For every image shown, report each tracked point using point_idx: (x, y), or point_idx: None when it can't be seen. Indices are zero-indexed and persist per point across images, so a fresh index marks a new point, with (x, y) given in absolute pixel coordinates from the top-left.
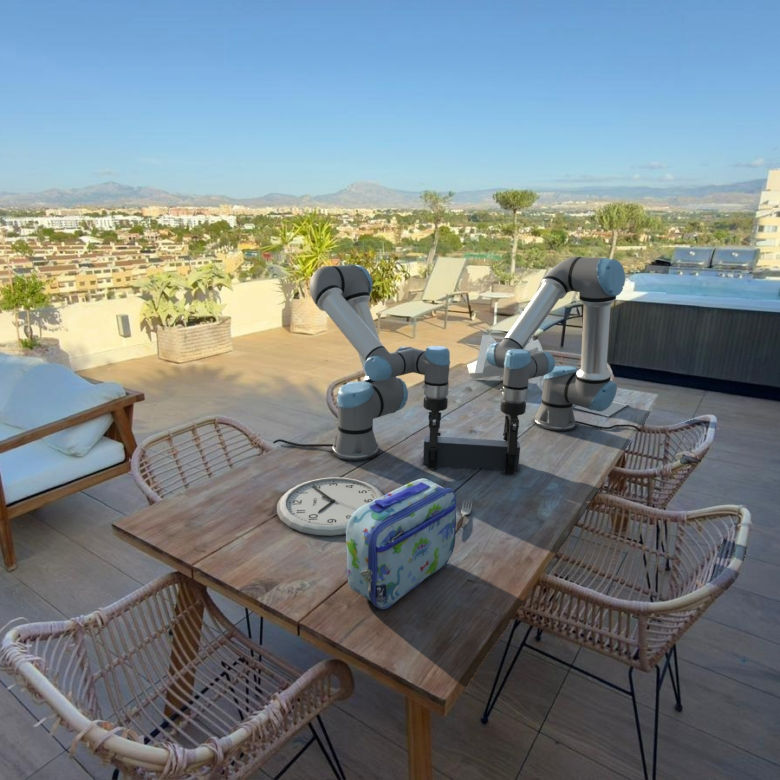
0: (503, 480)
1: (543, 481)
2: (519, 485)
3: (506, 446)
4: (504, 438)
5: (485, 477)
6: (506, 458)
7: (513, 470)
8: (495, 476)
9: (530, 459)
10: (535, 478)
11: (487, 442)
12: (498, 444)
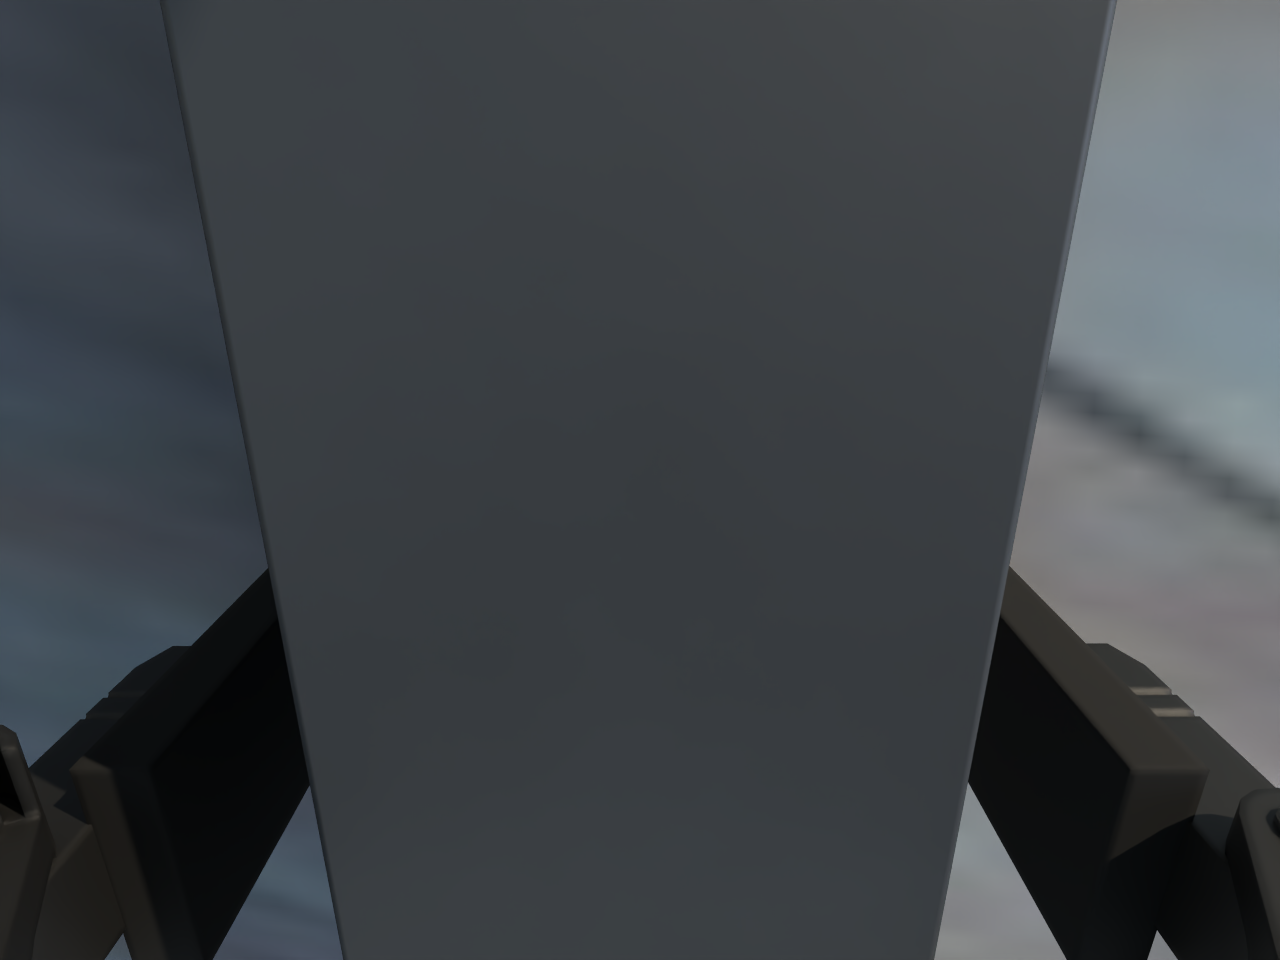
0: (82, 460)
1: (268, 954)
2: (10, 676)
3: (364, 896)
4: (1249, 866)
5: (70, 123)
6: (162, 687)
7: None
8: (190, 332)
9: (956, 896)
10: (327, 884)
11: (655, 103)
12: (494, 641)
